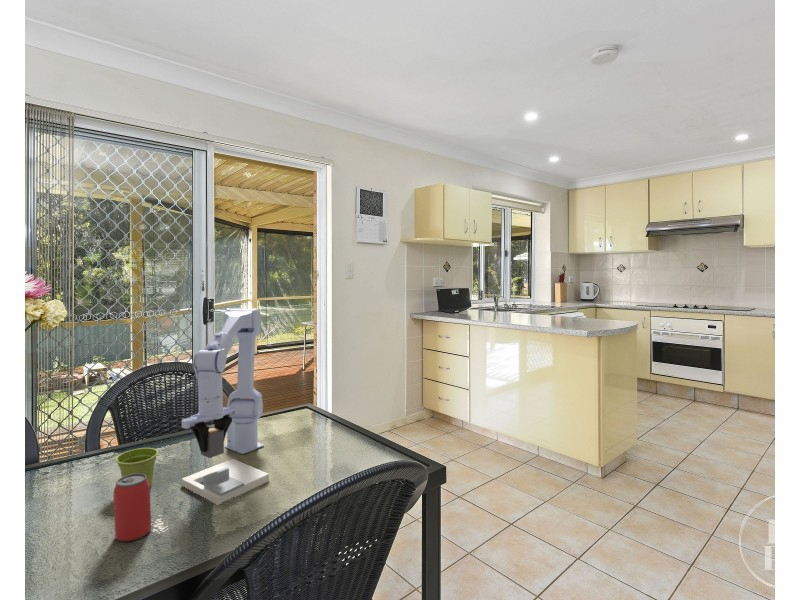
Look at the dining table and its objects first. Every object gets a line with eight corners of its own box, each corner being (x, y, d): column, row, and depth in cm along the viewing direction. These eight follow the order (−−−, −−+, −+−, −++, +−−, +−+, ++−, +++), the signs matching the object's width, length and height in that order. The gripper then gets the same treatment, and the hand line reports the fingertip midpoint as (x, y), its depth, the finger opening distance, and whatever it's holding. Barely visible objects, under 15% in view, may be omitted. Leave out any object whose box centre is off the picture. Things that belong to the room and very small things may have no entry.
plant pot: (167, 482, 118) (166, 450, 117) (136, 500, 109) (134, 465, 108) (140, 477, 121) (139, 445, 120) (107, 493, 112) (106, 459, 111)
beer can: (125, 525, 98) (123, 472, 97) (156, 524, 99) (154, 471, 98) (108, 544, 91) (106, 487, 91) (142, 542, 92) (140, 486, 91)
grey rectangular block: (200, 454, 115) (200, 430, 115) (215, 449, 118) (214, 425, 118) (209, 458, 113) (209, 433, 112) (223, 452, 116) (223, 429, 116)
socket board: (181, 486, 116) (181, 478, 116) (232, 465, 128) (232, 458, 128) (217, 505, 106) (217, 497, 106) (268, 481, 119) (268, 473, 119)
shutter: (203, 487, 111) (203, 476, 111) (226, 477, 116) (226, 467, 116) (221, 496, 107) (220, 485, 107) (244, 485, 112) (244, 475, 112)
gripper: (192, 405, 106) (193, 461, 107) (244, 392, 118) (245, 442, 119) (176, 400, 110) (177, 454, 111) (228, 388, 122) (229, 436, 123)
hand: (211, 447), depth 116 cm, fingers closed on grey rectangular block, 4 cm apart
